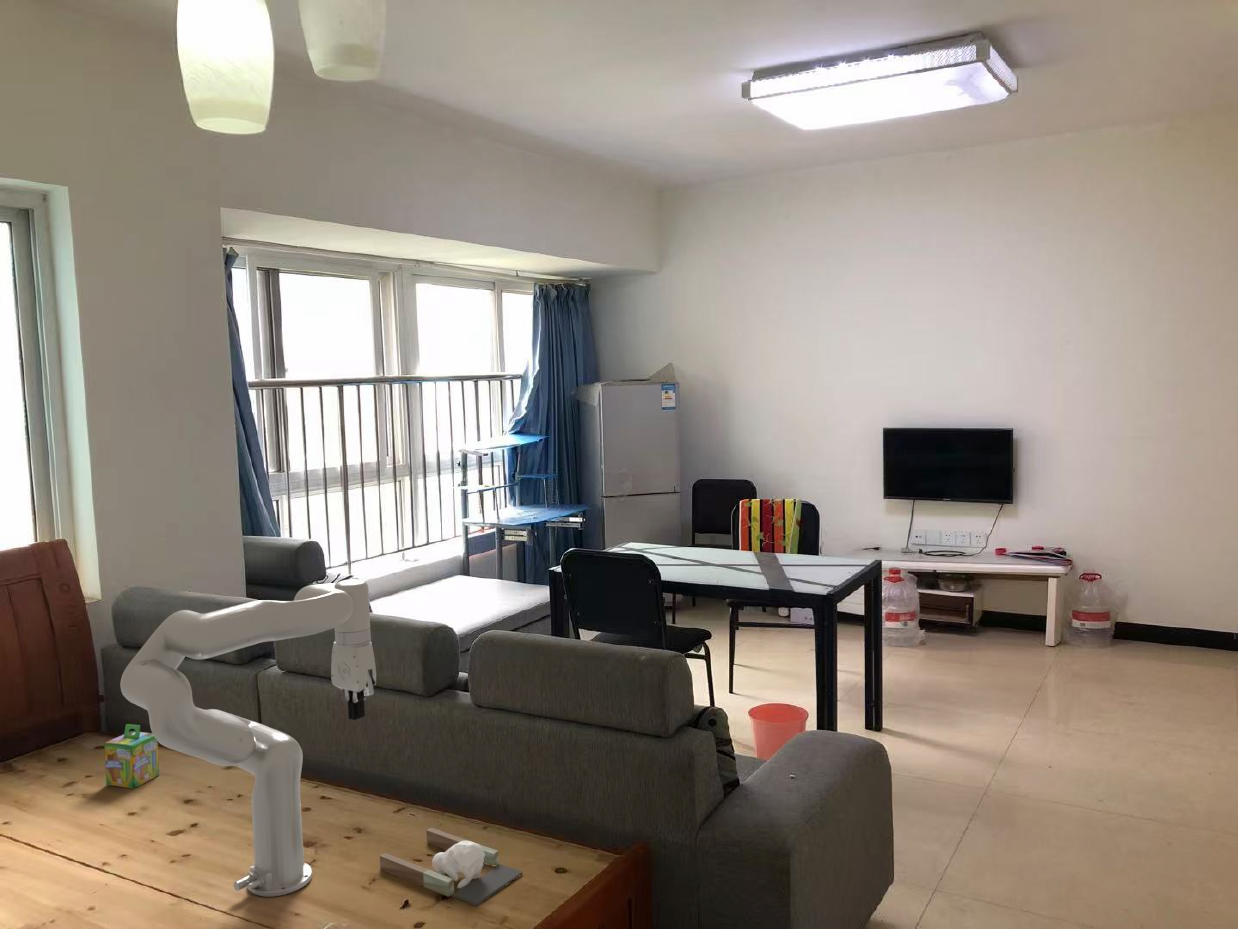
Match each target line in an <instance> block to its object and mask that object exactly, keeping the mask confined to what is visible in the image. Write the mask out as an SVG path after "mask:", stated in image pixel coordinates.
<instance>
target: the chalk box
mask: <svg viewBox="0 0 1238 929" xmlns="http://www.w3.org/2000/svg"><path fill="white" fill-rule="evenodd" d="M132 729H133V731H132ZM130 730H131V731H130ZM104 755H105V757H104V758H105V777H106V778H105V780H106V781H105V784H106V786H112V787H113V786H114V787H119V788H127V789H133V790H134V789H136V788H138V787H140V786H141V785H144V784H146V783H147V782H149V781H151V780H153V779H155V778H157V777H159V776H160V765H159V764H160V762H159V760H160V759H159V742H158V741H157V740H156V739H155V737H154V735H153V733H152V732H145V731H141V725H140V724H133V723H132V724H131V723H125V727H124V733H123V734H122V735H119V736H117V737H115V738H112V739H111V740H108V741H105V742H104Z"/></svg>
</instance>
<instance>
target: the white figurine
mask: <svg viewBox="0 0 1238 929" xmlns="http://www.w3.org/2000/svg"><path fill="white" fill-rule="evenodd" d="M476 843H477V842H473V841H471V840H469V841H461V842H459V843H457V844H455V845H453V846H452V847H451V848H449V849H448V850H445V852H444V851H443V852H438V853H436V854H435V855H434V856H433V858H432V860H431V865H432V868H433V869H434V870H435V871H434V872H436V873H439V874H442V875H444V876H445V874H447V875H448V877H449V878H452V879H453V880H454V881H455V882H457V881H458V880H459V876H458V874H459V873H462V874H463V875H464V877H465V878H463V879H461V880H460V881H459V883H458V884H457V886H456V887H457V889H459V890H461V889H463V888H464V887H466V886H467V885H469V884H471V881H472V880H477V879H478V878H480V877H479V876H480V875H481V872H482V870H483V867H484V864H483V863H484V857H485V854H484V852H483V850H482V848H481V846H480V845H481V844H480V843H477V844H476ZM479 844H480V845H479Z"/></svg>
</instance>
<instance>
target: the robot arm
mask: <svg viewBox="0 0 1238 929" xmlns="http://www.w3.org/2000/svg"><path fill="white" fill-rule="evenodd" d="M369 594H370V593H369V585H368V583H367V581H365V580H362V579H359V578H357V579H356V578H355V579H354V578H352V579H343V580H340V581H338V582H334V583H321V584H309V585H306V586H304V587H302V588H300V589H299V590H298V592H296V595H294V596H295V597H294V598H293V600H270V599H269V600H268V599H267V600H263V599H262V600H258V599H257V600H252V601H247V602H244V603H240V604H237V605H233V606H228V607H225V608H221V609H218V610H214V611H210V612H206V613H200V612H197V611H194V610H193V611H192V610H188V609H182V610H178V611H176V612H173V613H172V614H171V615H169V616H168V617H167V618H166V619H164V620H163V621H162V623H161V624H160V625H159V626H157V628H156V629H155V630H154V632H153V633H152V634H151V635H150V636H149V638H148V639H147V640H146V642H145V643H144V644H143V645H142V647H141V648H140V649H139V650H138V651H137V653H136V655H135V656H134V657H133V658H132V659H131V660H130V662H129V663H128V665H126V667H125V669H124V670H123V673H122V675H121V679H120V683H119V684H120V691H121V693H122V696H123V697H124V698H125V699H126V700H127V701H128V702H129V703H131V704H134V705H135V706H138V707H140V708H142V709H143V710H146V711H147V713H148V718H149V726H150V730H151V733H153V735H154V737H155V739H156V740H157V741H158V744H160V745H162V746H163V747H166V748H167V749H170V750H174V751H176V752H179V753H183V754H185V755H187V756H191V757H195V758H198V759H201V760H204V761H206V762H208V763H211V764H214V765H217V766H220V767H221V766H223V767H232V766H234V767H237V768H239V769H241V770H244V771H246V772H247V773H249V774H251V775H253V776H254V782H255V783H254V787H253V789H252V793H251V798H250V799H251V803H250V805H251V808H250V809H251V818H252V832H253V833H252V836H253V854H254V864H253V865H251V866H250V867H249V870H250V872H248V873H247V874H246V876H244V877H242V878H240V879H237V880H235V881H234V882H233V889H234V890H235V891H237V892H238V891H241V890H242V889H244V888H247V891H249V892H250V893H252V894H253V895H256V896H259V897H269V898H270V897H271V898H273V897H279V896H283V895H287V894H292V893H294V892H296V891H298V890H301V889H302V888H304V886H307V884H308V883H309V882H310V881H311V880H312V877H313V869H312V866H310V865H309V864H308V863H306V862H305V858H304V842H303V840H304V839H303V822H302V821H303V820H302V805H301V804H302V803H301V776H302V768H303V761H304V760H303V758H304V756H303V755H304V754H303V750H302V748H301V746H300V744H299V742H298V741H297V740H296V739H295V738H294V737H292V736H291V735H289V734H287V733H285V732H282V731H280V730H278V729H275V728H272V727H269V726H267V725H265V724H262V723H261V722H260V723H259V722H257V721H254V720H250V719H247V718H244V717H241V716H239V715H235V714H232V713H229V712H226V711H223V710H220V709H215V708H210V709H203V708H200V707H197V706H196V705H195V703H194V701H193V699H194V698H193V691H192V687H191V683H190V681H189V679H188V678H187V677H186V676H185V674H184V673H183V672H181V671H179V669H178V667H179V666H180V664H181V663H182V662H183V661H184V659H185V657H187V658H190V659H191V660H192V659H193V660H206V659H210V658H214V657H217V656H220V655H223V654H226V653H227V654H228V653H230V652H233V651H234V652H235V651H236V650H240V649H244V648H247V647H250V646H251V647H252V646H254V645H256V644H259V643H260V644H261V643H265V642H274V641H276V642H277V641H282V640H288V639H294V638H301V637H307V636H312V635H316V634H320V633H323V632H326V631H329V630H334V642H333V645H332V649H331V659H330V660H331V664H330V668H331V669H330V673H331V675H330V677H331V684H332V685H333V686H334V687H337V688H338V689H339V690H340V691H343V693H344V696H345V697H344V698H345V700H346V701H347V712H348V714H347V715H348V719H349V720H352V721H356V720H359V719H362V718H364V717H365V714H366V712H365V711H366V710H365V701H366V698H367V697H370V696H373V695H374V694H375V691H374V687H375V686H376V684H377V670H376V668H377V667H376V660H375V654H374V653H375V652H374V648H373V643H372V641H371V640H372V639H371V638H372V637H371V618H370V616H371V615H370V614H371V613H370V595H369Z"/></svg>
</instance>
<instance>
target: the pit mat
mask: <svg viewBox="0 0 1238 929" xmlns="http://www.w3.org/2000/svg"><path fill="white" fill-rule="evenodd" d="M522 873H523V871H521V870H519V869H516V868H513V867H510V866H507V865H504V864H502V863H499V865H497V866H496V867H493V868H492V869H490V870H489V871H488V872H486V873H484V874H482V876H480V877H478V878H477V879H474V880H473V881H472V882H470V883H469V884H468V885H467V886H466V887H463V888H461V889H459V890H458V891H457V892H454V894H453V897H454V898H455V899H458V900H461V901H463V902H465V903H468V904H471V905H473V906H476V907H477V906H478V905H480V904H481V903H483V902H484V901H486V900H487V899H489V898H491V897H492V896H493V895H495V894H496V893H498V892H499V891H500V889H501V890H502V889H504V888H505V887H506V886H507V885H506V884H507V883H509V882H511V881H512V880H513V879H514V878H516V877H518V876H519V875H521V874H522ZM521 876H522V875H521ZM518 878H519V877H518ZM512 882H513V881H512ZM512 882H511V883H512ZM509 884H510V883H509ZM505 885H506V886H505ZM504 886H505V887H504ZM497 891H498V892H497Z"/></svg>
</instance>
